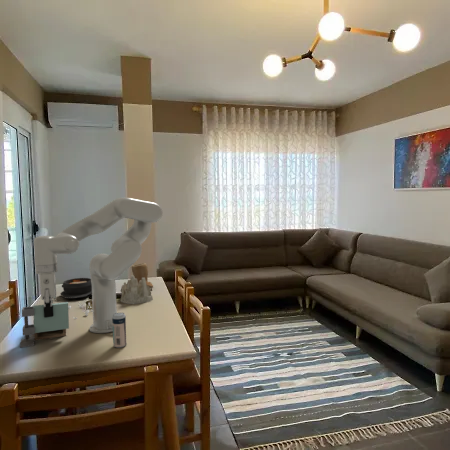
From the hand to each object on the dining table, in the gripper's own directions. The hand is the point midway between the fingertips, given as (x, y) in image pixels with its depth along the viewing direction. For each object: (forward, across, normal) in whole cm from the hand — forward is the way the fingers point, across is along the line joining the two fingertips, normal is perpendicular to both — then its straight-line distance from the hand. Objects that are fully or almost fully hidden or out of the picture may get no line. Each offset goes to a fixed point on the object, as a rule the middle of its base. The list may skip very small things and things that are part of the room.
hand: (49, 315), depth 137 cm
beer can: (+10, -16, -24) cm, 31 cm away
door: (+6, 0, +1) cm, 6 cm away
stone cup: (+10, +65, -48) cm, 82 cm away
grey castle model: (+11, +42, -40) cm, 59 cm away
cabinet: (+10, +6, +2) cm, 12 cm away
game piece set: (+11, +32, -8) cm, 35 cm away
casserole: (+10, +66, -12) cm, 68 cm away
